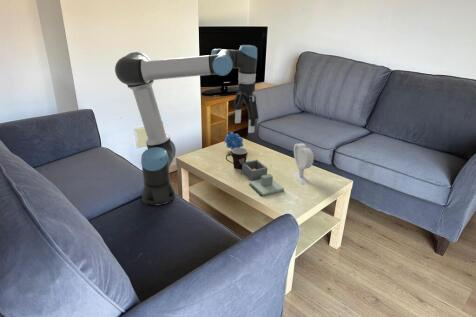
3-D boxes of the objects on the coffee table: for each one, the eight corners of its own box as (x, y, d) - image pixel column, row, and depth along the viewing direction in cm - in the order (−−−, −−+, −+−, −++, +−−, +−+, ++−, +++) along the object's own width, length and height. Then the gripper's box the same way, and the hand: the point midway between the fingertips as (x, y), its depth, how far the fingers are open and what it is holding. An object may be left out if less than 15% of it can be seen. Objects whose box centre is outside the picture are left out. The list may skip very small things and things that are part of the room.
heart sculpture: (290, 171, 188) (293, 141, 180) (298, 170, 189) (301, 140, 182) (302, 185, 175) (306, 153, 167) (311, 184, 176) (315, 152, 168)
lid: (263, 195, 164) (263, 184, 161) (249, 183, 174) (249, 173, 172) (283, 189, 169) (284, 179, 167) (269, 178, 179) (270, 168, 177)
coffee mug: (247, 164, 196) (248, 148, 191) (246, 171, 188) (247, 154, 184) (227, 162, 197) (227, 146, 192) (225, 169, 189) (225, 153, 185)
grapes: (224, 153, 209) (224, 135, 203) (224, 148, 215) (224, 131, 209) (243, 153, 209) (243, 135, 204) (242, 149, 215) (243, 131, 210)
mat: (261, 196, 164) (261, 195, 164) (249, 185, 174) (249, 184, 174) (283, 190, 170) (283, 189, 170) (270, 179, 179) (271, 178, 179)
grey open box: (251, 181, 177) (252, 171, 175) (242, 172, 186) (242, 162, 184) (266, 178, 181) (267, 167, 178) (256, 169, 190) (256, 159, 187)
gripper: (268, 88, 143) (264, 135, 152) (241, 75, 163) (239, 118, 172) (252, 89, 140) (249, 137, 149) (227, 76, 160) (225, 119, 169)
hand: (244, 127), depth 160 cm, fingers open, 13 cm apart
